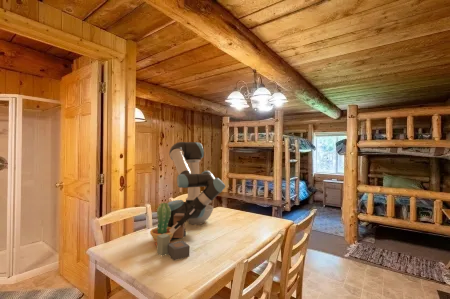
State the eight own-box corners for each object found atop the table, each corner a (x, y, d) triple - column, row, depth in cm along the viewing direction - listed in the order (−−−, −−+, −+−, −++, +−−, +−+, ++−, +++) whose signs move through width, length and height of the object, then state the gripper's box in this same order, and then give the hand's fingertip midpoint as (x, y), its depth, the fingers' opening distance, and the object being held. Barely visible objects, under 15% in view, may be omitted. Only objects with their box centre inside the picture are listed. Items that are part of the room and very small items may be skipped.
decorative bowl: (176, 219, 196) (176, 205, 196) (206, 216, 207) (206, 202, 207) (184, 229, 172) (184, 213, 172) (218, 225, 183) (218, 209, 183)
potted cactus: (179, 240, 152) (180, 201, 152) (167, 249, 137) (168, 207, 137) (158, 237, 156) (158, 200, 156) (144, 246, 141) (145, 205, 141)
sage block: (156, 253, 132) (157, 235, 132) (164, 250, 136) (164, 233, 136) (162, 256, 129) (162, 237, 129) (169, 253, 133) (169, 235, 133)
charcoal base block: (167, 254, 131) (167, 243, 131) (182, 250, 136) (182, 240, 136) (174, 261, 124) (174, 249, 124) (189, 256, 129) (189, 245, 129)
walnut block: (175, 234, 132) (175, 213, 133) (184, 234, 132) (184, 213, 132) (173, 237, 127) (173, 215, 128) (182, 238, 127) (182, 215, 127)
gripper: (205, 209, 121) (173, 241, 121) (208, 202, 139) (180, 229, 139) (195, 199, 121) (162, 230, 121) (199, 193, 139) (171, 220, 139)
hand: (172, 230), depth 130 cm, fingers closed on walnut block, 5 cm apart
